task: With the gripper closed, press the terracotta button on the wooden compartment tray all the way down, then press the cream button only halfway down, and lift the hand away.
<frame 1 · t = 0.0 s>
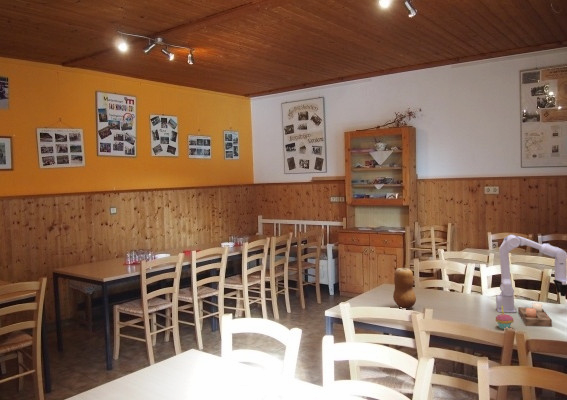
hand: (561, 294, 265), 10 cm above the table, tool pointing down, fingers open, 7 cm apart
cream button: (537, 308, 259), point 5 cm above the table, slide at 0.0 cm
butternut squash: (404, 308, 289), on the table
terracotta button: (530, 313, 251), point 5 cm above the table, slide at 0.0 cm
wooden compartment tray: (534, 319, 255), on the table
cupcake: (504, 328, 245), on the table
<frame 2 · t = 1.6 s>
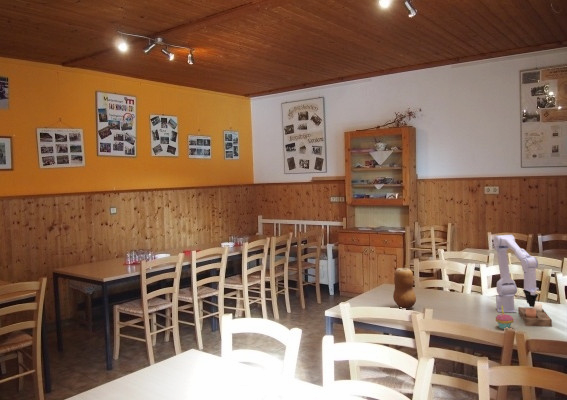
hand: (530, 305, 250), 9 cm above the table, tool pointing down, fingers open, 5 cm apart
nothing on the table moved.
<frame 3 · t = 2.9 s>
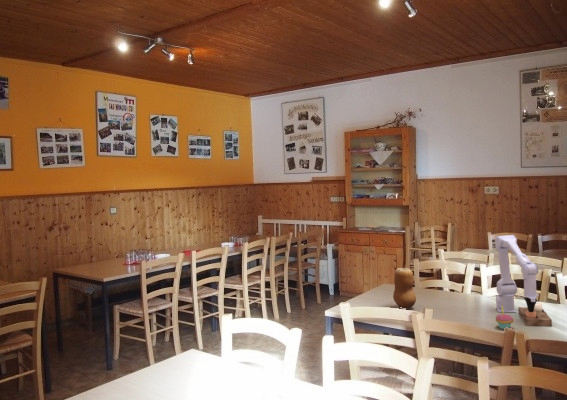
hand: (530, 311, 251), 6 cm above the table, tool pointing down, fingers closed, pressing on terracotta button
terracotta button: (531, 316, 251), point 3 cm above the table, slide at 1.4 cm, touching gripper
everything else where it was.
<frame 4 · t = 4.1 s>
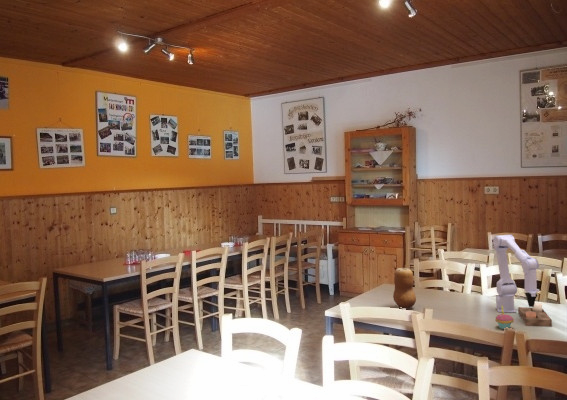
hand: (531, 306, 251), 8 cm above the table, tool pointing down, fingers closed
terracotta button: (531, 317, 251), point 3 cm above the table, slide at 1.8 cm
everything else where it was.
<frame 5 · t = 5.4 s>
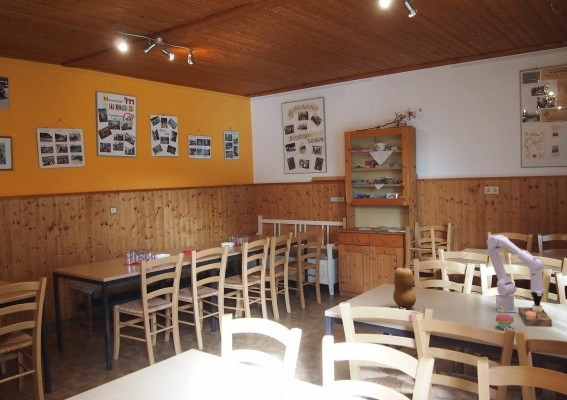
hand: (537, 305, 259), 6 cm above the table, tool pointing down, fingers closed, pressing on cream button
cream button: (537, 310, 259), point 4 cm above the table, slide at 0.8 cm, touching gripper
everything else where it was.
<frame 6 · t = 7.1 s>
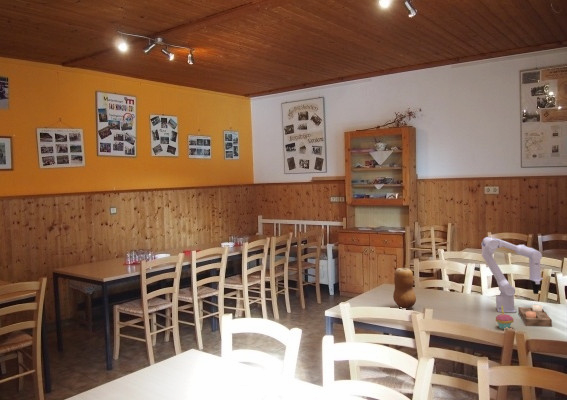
hand: (535, 293, 271), 9 cm above the table, tool pointing down, fingers closed
cream button: (537, 310, 259), point 4 cm above the table, slide at 0.9 cm
everything else where it was.
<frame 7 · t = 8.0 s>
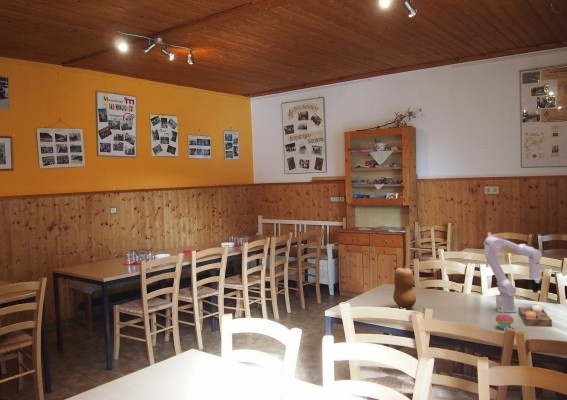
hand: (535, 292, 274), 9 cm above the table, tool pointing down, fingers closed
nothing on the table moved.
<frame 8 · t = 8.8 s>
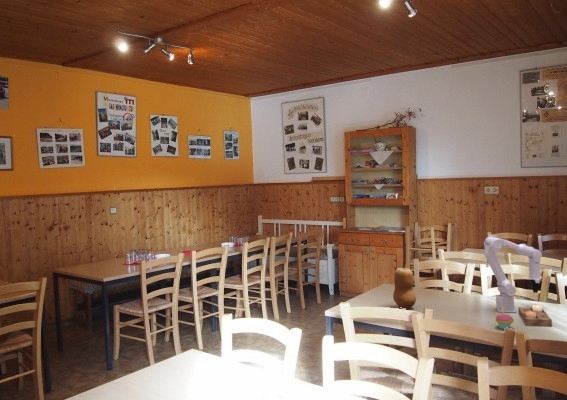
hand: (535, 292, 274), 9 cm above the table, tool pointing down, fingers closed
nothing on the table moved.
at the end: terracotta button slide at 1.8 cm; cream button slide at 0.9 cm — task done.
